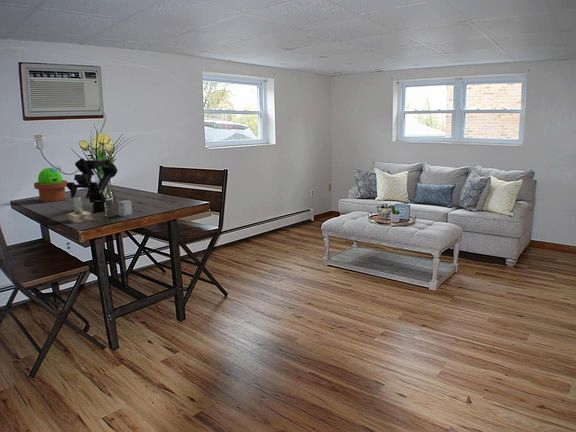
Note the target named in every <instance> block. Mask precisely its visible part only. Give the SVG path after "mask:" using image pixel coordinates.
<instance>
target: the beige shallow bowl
mask: <svg viewBox="0 0 576 432" xmlns="http://www.w3.org/2000/svg"><path fill="white" fill-rule="evenodd" d="M66 220H67V221H69V222H71V223H73V224H76V223H82V222H86V221H92V220H94V216H93V213H92V212H90V211H86V210H83V213H82V214H75V211H74V212H70V213H66Z"/></svg>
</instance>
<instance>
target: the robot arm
mask: <svg viewBox="0 0 576 432" xmlns="http://www.w3.org/2000/svg"><path fill="white" fill-rule="evenodd" d="M74 165H75V167H76V168H77V170H78V171H79V172H80V173H81V174H74V175H73V176H74V177H73V180H74V181H71V182H70V181H69V182H68V181H67V184H66V186H67V189H68V190H69V191H70V198H71V199H73V197H76V193H77V190H78V189H79V188H80V189H87V192H86V195H85V198H86V199H89V202H90V203H92V211H93V212H94V213H102V212H104V213H105V212H106V209H105V208H106V207H105V203H106V202H107V197H106V196H105V194H104V191H105V189H106V188H107V185H108V184H109V183H110V181H111V179H112V178H114V177H115V176H116V175H117V173H118V168H117V166H116V165H115V164H114V163H112V162H111V161H110V160H109V159H100V160H98V159H97V160H95V159H91V160H90V159H88V160H87V159H84V158H80V159H79V160H77V161H76V162H75V163H74ZM100 167H101V171H102V172H103V175H102V177H101V178H100V180H99V182H96V181H92V179H93V178H92V177H93V176H95V172H94V171H93V170H97V169H99V168H100ZM75 181H76V183H77V184H76V183H75Z"/></svg>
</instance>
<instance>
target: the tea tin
mask: <svg viewBox="0 0 576 432" xmlns="http://www.w3.org/2000/svg"><path fill="white" fill-rule="evenodd" d="M82 199H83V198H82V196H80V195H77V196H74V197H73V198H72V200H73V208H74V212H75V214H82V213H83V211H84V208H83V200H82Z"/></svg>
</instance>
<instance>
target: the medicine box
mask: <svg viewBox="0 0 576 432" xmlns="http://www.w3.org/2000/svg"><path fill="white" fill-rule="evenodd" d="M132 205H133V203H132V200H128V199H127V200H126V199H125V200H122V201H119V202H117V209H118V211H117V212H118V217H126V216H129V215H132V214H133V207H132Z"/></svg>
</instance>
